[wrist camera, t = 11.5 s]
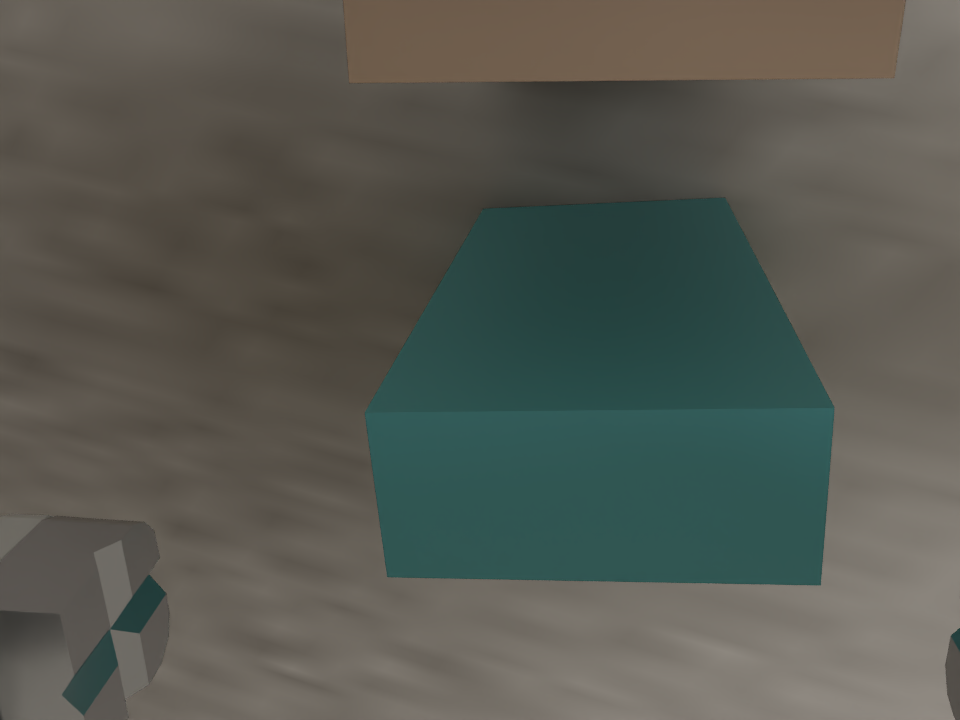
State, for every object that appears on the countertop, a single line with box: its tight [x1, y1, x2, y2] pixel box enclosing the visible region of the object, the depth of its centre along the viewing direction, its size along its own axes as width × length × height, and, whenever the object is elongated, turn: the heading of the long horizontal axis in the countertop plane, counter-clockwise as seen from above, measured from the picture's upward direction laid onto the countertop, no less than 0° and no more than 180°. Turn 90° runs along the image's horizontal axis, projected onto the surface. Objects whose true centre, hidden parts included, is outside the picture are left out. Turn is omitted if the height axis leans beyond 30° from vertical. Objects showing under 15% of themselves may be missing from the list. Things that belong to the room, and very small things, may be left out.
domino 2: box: [365, 198, 834, 585], centre depth 15 cm, size 2×5×10 cm, turn 95°
